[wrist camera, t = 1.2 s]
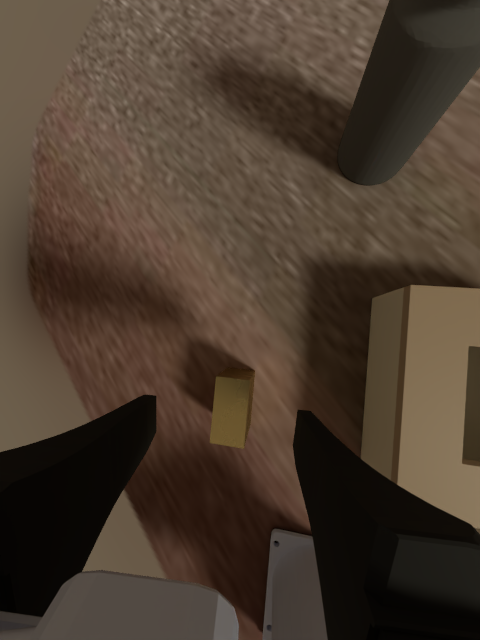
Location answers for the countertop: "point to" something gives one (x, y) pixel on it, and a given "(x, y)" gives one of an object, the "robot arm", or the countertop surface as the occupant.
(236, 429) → the block
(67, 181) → the countertop surface
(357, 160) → the bottle
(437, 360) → the cream box with slot
